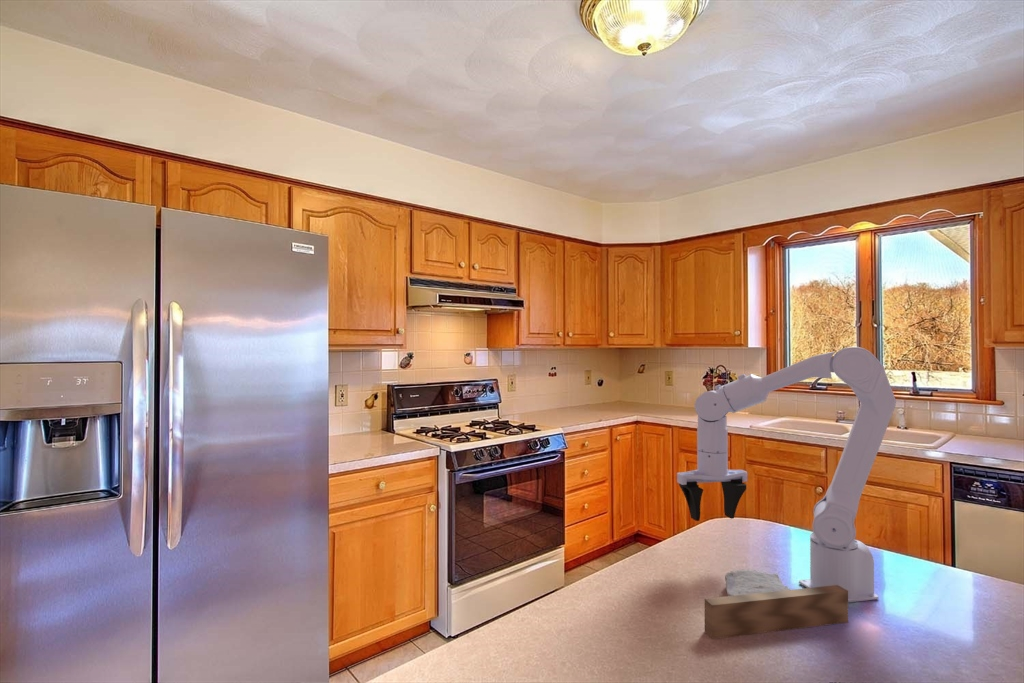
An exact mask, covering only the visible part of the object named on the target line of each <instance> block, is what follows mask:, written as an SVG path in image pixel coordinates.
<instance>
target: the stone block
mask: <svg viewBox="0 0 1024 683" xmlns="http://www.w3.org/2000/svg"><path fill="white" fill-rule="evenodd" d="M724 581H725V588H726V593H727V596H736V595H745V594H755V593H765V592H775V591H784V590H791V588H789V586H787V585H785V584H784V583H783V582H782V581H781V579H780V576H779V574H777V573H776V572H773V573H769V572H764V571H761V570H760V571H759V570H756V569H738V570H732V571H730V572H727V573H726V574H725V575H724Z"/></svg>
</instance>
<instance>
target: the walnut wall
mask: <svg viewBox="0 0 1024 683" xmlns="http://www.w3.org/2000/svg"><path fill="white" fill-rule="evenodd" d="M846 623H849V602H848V591H847V590H846V589H844V588H842V587H840V586H838V585H833V586H823V587H814V588H806V587H803V588H796V589H790V590H784V591H775V592H765V593H755V594H745V595H736V596H729V595H727V596H719V597H718V596H717V597H709V598H708V597H706V598H704V633H706V634H707V635H708V636H709V637H710V638H711V639H713V640H715V639H721V638H723V639H724V638H727V637H728V638H730V637H738V636H747V635H755V634H764V633H772V632H780V631H781V632H782V631H788V630H789V631H790V630H798V629H806V628H814V627H823V626H829V625H838V624H846Z"/></svg>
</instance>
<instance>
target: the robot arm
mask: <svg viewBox="0 0 1024 683" xmlns="http://www.w3.org/2000/svg"><path fill="white" fill-rule="evenodd" d="M832 373H834V374H835V376H837V377H838V378H839V379H840V380H841V381H842V382H843V383H845V384H846V385H847V386H849V387H850V389H851V390H852V392H853V394H854V395H855V396H856V398H857V399H858V401H859V402H860V406H859V408H858V411H857V414H856V415H855V418H854V421H853V423H852V427H851V429H850V432H849V434H848V437H847V440H846V442H845V445H844V448H843V449H842V453H841V455H840V459H839V461H838V464H837V466H836V469H835V471H834V474H833V477H832V480H831V483H830V484H829V485H828V487H827V490H826V492H825V495H824V496H823V497H822V499H820V500H819V501H818V502H816V503H815V504H814V507H813V511H812V512H813V521H812V531H813V532H811V533H810V536H809V537H810V538H809V540H810V544H809V545H810V546H809V547H810V549H809V550H810V551H809V554H810V555H809V556H810V558H809V559H810V561H809V562H810V564H809V566H810V567H809V568H810V573H809V574H810V578H808V579H799V580H798V584H800V585H802V586H803V587H804V588H814V587H823V586H833V585H838V586H840V587H842V588H844V589H846V590H847V591H848V603H854V602H861V601H863V602H864V601H870V600H871V601H873V600H878V599H879V595H878V594H876V593H875V560H874V557H873V554H872V551H871V550H870V548H869V547H868V546H867V545H866V544H865V543H863V542H862V541H860V540H858V539H856V535H857V529H856V526H855V521H856V518H857V514H858V510H859V505H860V499H861V496H862V494H863V492H864V489H865V487H866V483H867V481H868V478H869V476H870V473H871V470H872V467H873V465H874V462H875V460H876V457H877V455H878V452H879V451H880V447H881V445H882V442H883V440H884V438H885V434H886V432H887V429H888V426H889V424H890V421H891V418H892V416H893V413H894V410H895V408H896V405H897V400H896V398H895V395H894V391H893V389H892V387H891V383H890V382H889V378H888V376H887V373H886V370H885V367H884V365H883V364H882V363H881V361H880V360H878V358H877V357H876V356H875V355H874V354H873V352H871V351H870V350H868V349H866V348H863V347H859V346H848V347H847V346H846V347H843V348H842V349H839V350H838V351H837V352H836V351H834V350H833V351H830V352H825V353H821V354H817V355H813V356H810V357H808V358H805V359H802V360H801V361H798V362H796V363H793V364H791V365H789V366H786V367H784V368H781V369H779V370H777V371H774V372H772V373H770V374H767V375H765V376H762V377H761V376H757V375H756V374H751V373H750V374H748V375H746V374H745V373H743V374H740V375H738V376H737V379H736V380H733V381H731V382H729V383H725V384H723V385H721V384H717V385H715V386H714V389H715V390H708V391H704V392H703V393H701V394H700V395H699V396H698V397H697V398H696V399H695V402H694V410H695V413H696V414H697V428H696V430H697V431H696V438H697V439H696V440H697V441H696V453H697V454H696V455H697V456H696V458H697V460H696V461H697V463H696V464H697V466H696V467H697V468H696V469H694V470H689V471H684V472H683V471H681V472H677V473H676V483H678V485H679V487H680V490H681V491H682V493H683V495H684V497H685V500H686V503H687V506H688V510H689V513H690V514H689V515H690V519H692V520H694V521H695V522H700V520H701V519H700V518H701V502H702V497H703V492H704V489H703V488H702V487H699V484H702V483H705V484H706V483H707V484H708V483H720V484H721V487H722V492H723V512H724V516H726V517H727V518H729V519H730V520H732V519H734V518H735V515H736V511H737V509H738V506H739V505H738V504H739V502H740V500H741V498H742V496H743V495H744V493H745V492H746V490H747V484H746V483H745V482H748V471H746V470H744V469H728V468H729V466H728V465H729V463H728V462H729V458H728V457H729V456H728V455H729V454H728V449H729V448H728V447H729V446H728V441H729V440H728V430H729V429H728V427H727V426H728V425H727V424H728V421H727V420H728V418H727V415H728V414H729V413H731V414H732V413H733V414H736V413H738V412H740V411H744V410H746V409H748V408H751V407H754V406H757V405H759V404H762V403H765V402H766V401H767V399H768V396H769V393H770V392H773V391H776V390H779V389H782V388H786V387H789V386H791V385H795V384H797V383H800V382H802V381H805V380H808V379H812V378H818V379H831V380H832V379H833V378H832Z"/></svg>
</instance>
